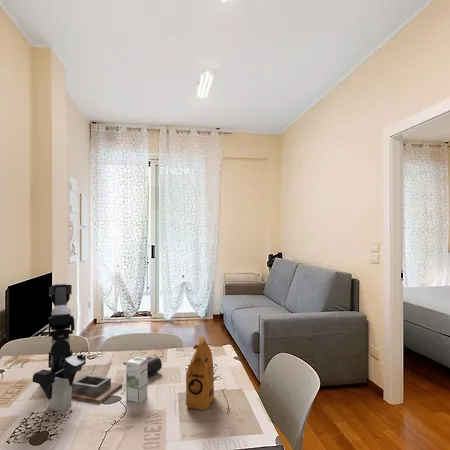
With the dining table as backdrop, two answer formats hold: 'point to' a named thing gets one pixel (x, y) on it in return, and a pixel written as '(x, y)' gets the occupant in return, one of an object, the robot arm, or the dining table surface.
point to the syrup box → (136, 379)
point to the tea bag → (60, 394)
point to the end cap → (153, 365)
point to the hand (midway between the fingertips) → (59, 393)
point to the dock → (93, 388)
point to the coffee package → (200, 378)
